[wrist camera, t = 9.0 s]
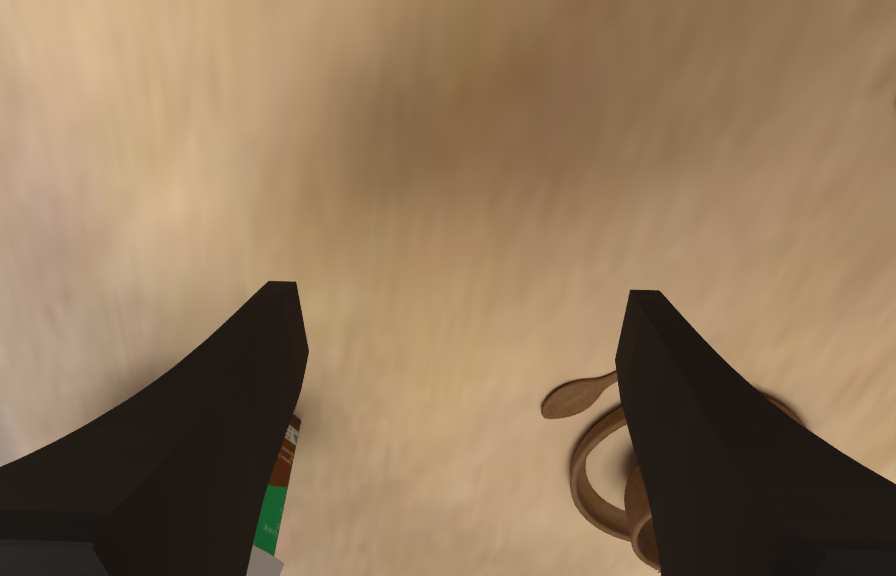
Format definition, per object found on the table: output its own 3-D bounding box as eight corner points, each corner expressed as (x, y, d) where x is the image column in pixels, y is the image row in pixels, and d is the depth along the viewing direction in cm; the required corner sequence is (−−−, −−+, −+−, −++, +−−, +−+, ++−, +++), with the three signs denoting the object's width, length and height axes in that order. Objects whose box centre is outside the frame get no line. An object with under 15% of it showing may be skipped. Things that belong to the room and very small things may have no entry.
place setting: (857, 498, 35) (916, 606, 30) (549, 600, 43) (557, 697, 38) (720, 296, 27) (772, 399, 22) (374, 467, 35) (357, 570, 30)
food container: (239, 329, 28) (144, 532, 20) (324, 410, 31) (270, 615, 23) (62, 418, 32) (-74, 615, 25) (152, 482, 36) (58, 676, 28)
